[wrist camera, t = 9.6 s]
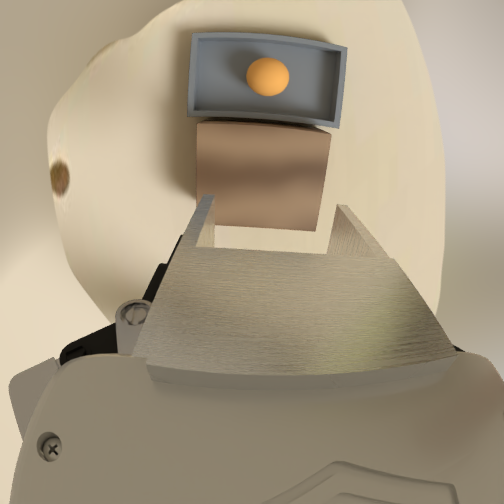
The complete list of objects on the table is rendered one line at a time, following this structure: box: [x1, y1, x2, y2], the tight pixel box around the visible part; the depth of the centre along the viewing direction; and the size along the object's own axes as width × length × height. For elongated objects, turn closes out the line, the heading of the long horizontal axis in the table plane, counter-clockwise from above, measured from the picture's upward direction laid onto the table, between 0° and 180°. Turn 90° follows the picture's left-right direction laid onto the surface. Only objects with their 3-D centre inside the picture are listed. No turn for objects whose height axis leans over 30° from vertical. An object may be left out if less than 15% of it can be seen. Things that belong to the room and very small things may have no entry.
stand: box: [196, 120, 331, 231], centre depth 27 cm, size 10×12×5 cm
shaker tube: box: [131, 194, 459, 390], centre depth 9 cm, size 6×6×9 cm
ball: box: [246, 58, 289, 96], centre depth 21 cm, size 4×4×4 cm
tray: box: [187, 32, 347, 129], centre depth 23 cm, size 9×15×2 cm, turn 86°
